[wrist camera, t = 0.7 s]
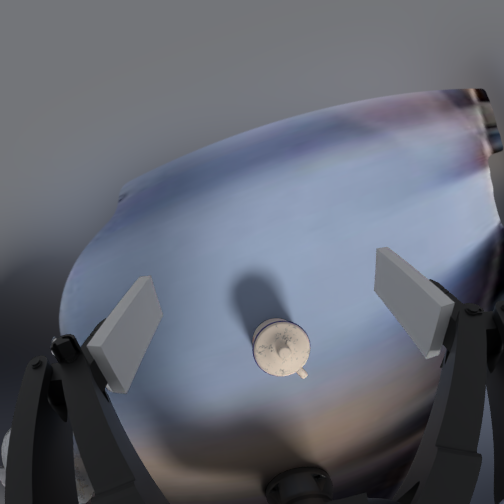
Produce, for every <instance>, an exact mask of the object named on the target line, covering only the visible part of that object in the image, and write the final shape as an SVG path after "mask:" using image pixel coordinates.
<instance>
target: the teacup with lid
mask: <svg viewBox="0 0 504 504" xmlns="http://www.w3.org/2000/svg"><path fill="white" fill-rule="evenodd" d="M252 342H253V356H254V359H255V362H256V363H257V365H258V366H259V367H260V368H261V369H262V370H263V371H264V372H266V373H268V374H270V375H273V376H287V375H291V374H293V373H295V372H297V373H298V375H299V376H300V377H301V378H303V379H304V378H306V377H307V376H308V374H307V372H306V371H305V370H304V369H303V368H302V367H303V366H304V364H305V363H306V361H307V359H308V357H309V354H310V340H309V338H308V335H307V334H306V332H305V331H304V330H303V329H302V328H301V327H300V326H299V325H297V324H295V323H293V322H290V321H286V320H284V319H280V318H273V319H269V320H266V321H264V322H263V323H261V324H260V325H259V326H258V327H257V329H256V330H255V332H254V335H253V340H252Z"/></svg>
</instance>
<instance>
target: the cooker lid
mask: <svg viewBox="0 0 504 504" xmlns="http://www.w3.org/2000/svg"><path fill="white" fill-rule="evenodd" d="M10 432H11V429H10V430H9V431H8V432H7V434H6V435H5V437H4V440H3V443H2V460H3V464H4V466H0V481H1V482H2V484H3V485H4V487H5V477H6V463H7V453H8V445H9V438H10ZM73 452H74V468H75V479H76V487H77V495H78V502H79V504H85V503H86V502H87V501H88V500H89V499H90V498H91V497H92V495H93V493H94V489H93V487H92V485H91V482H90V480H89V477H88V475H87V472H86V470H85V467H84V464H83V461H82V458H81V456H80V453H79V450H78V446H77V443H76V440H75V437H74V435H73Z"/></svg>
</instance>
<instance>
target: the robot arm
mask: <svg viewBox="0 0 504 504" xmlns="http://www.w3.org/2000/svg"><path fill="white" fill-rule="evenodd" d="M374 291H375V292H376V294H377V295H378V296H379V297H380V299H381V300H382V301H383V302H384V304H385V305H386V306H387V307H388V309H389V310H390V311H391V313H392V314H393V315H394V316H395V318H396V319H397V320H398V322H399V323H400V324H401V326H402V327H403V328H404V330H405V331H406V332H407V334H408V335H409V336H410V338H411V339H412V340H413V342H414V343H415V344H416V346H417V347H418V349H419V350H420V351H421V353H422V354H423V356H424V357H425V358H426V359H428V358H431V357H434V356H437V355H439V353H440V351H441V348H442V345H444V346H445V347H446V349H447V350H446V353H445V356H444V358H443V361H442V364H441V366H440V368H442V371H441V376H440V380H439V385H438V389H437V393H436V396H435V400H434V404H433V407H432V411H431V414H430V417H429V420H428V423H427V426H426V429H425V432H424V435H423V438H422V441H421V443H420V446H419V448H418V451H417V454H416V456H415V458H414V461H413V463H412V465H411V468H410V470H409V472H408V474H407V476H406V478H405V480H404V482H403V484H402V485H401V487H400V488H399V490H398V491H397V493H396V494H395V496H394V497H393V499H392V500H389V499H381V498H367V495H366V493H363V494H359V495H355V496H351V497H347V498H343V499H339V500H334V501H332V493H333V484H332V481H331V479H330V477H329V475H328V474H327V473H326V472H325V471H323V470H321V469H318V468H313V467H301V468H295V469H292V470H288V471H286V472H284V473H282V474H280V475H278V476H277V477H275V478H274V479H273V480H272V481H271V482H270V483H269V484H268V486H267V489H266V497H267V501H268V503H269V504H469V503H470V501H471V498H472V495H473V492H474V488H475V485H476V482H477V479H478V475H479V471H480V467H481V463H482V456H481V454H478V453H477V445H478V441H479V435H480V429H481V424H482V417H483V410H484V400H485V389H486V387H487V392H488V398H489V404H490V411H491V419H492V429H493V441H494V501H495V504H504V301H498V302H497V303H496V305H495V308H494V311H491V312H484V310H483V309H482V308H481V307H480V306H478V305H476V304H472V303H466V304H463V303H461V302H460V301H459V300H458V299H457V298H456V297H455V296H453V295H452V294H451V293H449V291H448V290H446V289H445V288H444V287H443V286H442V285H441V284H439V283H438V282H435V281H433V280H431V279H430V280H428V279H427V278H426V277H425V276H423V275H422V274H421V273H420V272H419V271H417V270H416V269H415V268H414V267H412V266H411V265H410V264H409V263H407V262H406V261H405V260H404V259H402V258H401V257H400V256H399V255H397V254H396V253H395V252H394V251H392V250H391V249H390V248H388V247H384V248H377V249H376V270H375V284H374ZM162 317H163V313H162V310H161V307H160V304H159V301H158V297H157V294H156V291H155V287H154V284H153V281H152V277H151V276H141V277H139V278H138V279H137V281H136V282H135V283H134V284H133V285H132V287H131V288H130V289H129V290H128V292H127V293H126V294H125V295H124V297H123V298H122V299H121V301H120V302H119V303H118V304H117V306H116V307H115V308H114V310H113V311H112V312H111V313H110V315H109V316H108V317H107V318H105V319H104V320H103V321H101V322H100V323H99V324H98V325H97V326H96V327H95V329H94V331H92V333H91V334H90V336H89V337H88V338H87V339H86V341H85V342H84V343H83V345H82V346H81V347H80V346H79V344H78V342H77V340H76V338H75V336H74V335H71V334H66V335H63V336H61V337H59V338H57V339H56V340H55V341H53V343H52V344H51V350H52V352H53V354H54V355H55V357H56V359H57V361H58V362H59V363H52V364H50V363H49V361H48V359H47V358H46V357H45V356H43V355H42V356H37V357H34V358H33V359H31V361H30V362H29V363H28V365H27V367H26V370H25V373H24V376H23V380H22V384H21V387H20V391H19V394H18V399H17V403H16V407H15V412H14V416H13V421H12V427H11V432H10V438H9V445H8V453H7V463H6V477H5V504H79V502H78V495H77V487H76V479H75V468H74V452H73V433H74V437H75V440H76V443H77V446H78V450H79V453H80V456H81V458H82V461H83V464H84V467H85V470H86V472H87V475H88V477H89V480H90V482H91V485H92V487H93V489H94V492H95V497H92V498H91V503H92V504H170V503H169V502H168V500H167V499H166V498H165V496H164V495H163V493H162V492H161V490H160V489H159V488H158V486H157V485H156V483H155V482H154V480H153V479H152V477H151V476H150V474H149V472H148V471H147V469H146V468H145V466H144V464H143V463H142V461H141V459H140V458H139V456H138V454H137V453H136V451H135V449H134V447H133V445H132V444H131V442H130V440H129V438H128V436H127V434H126V432H125V430H124V428H123V426H122V424H121V422H120V420H119V418H118V416H117V414H116V412H115V410H114V407H113V405H112V403H111V401H110V398H109V396H108V394H107V392H106V391H105V387H106V386H107V384H108V385H109V387H110V388H111V390H112V391H113V392H114V393H123V394H127V392H128V390H129V388H130V385H131V383H132V381H133V379H134V376H135V374H136V372H137V370H138V368H139V365H140V363H141V361H142V359H143V357H144V354H145V352H146V350H147V348H148V346H149V344H150V342H151V339H152V337H153V335H154V333H155V331H156V329H157V327H158V325H159V323H160V321H161V319H162Z"/></svg>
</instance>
